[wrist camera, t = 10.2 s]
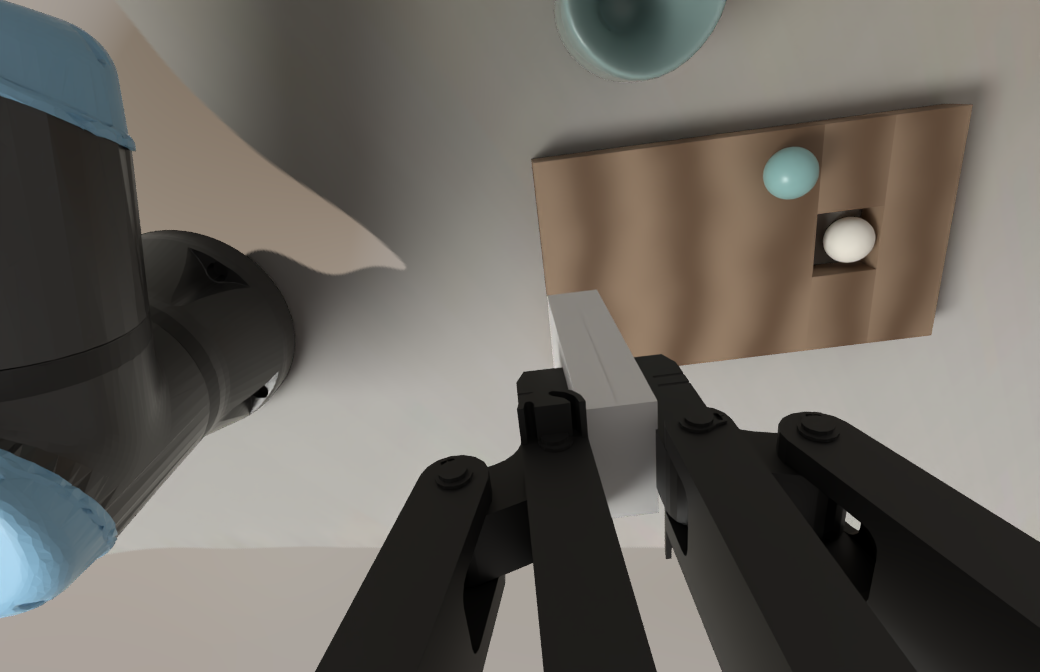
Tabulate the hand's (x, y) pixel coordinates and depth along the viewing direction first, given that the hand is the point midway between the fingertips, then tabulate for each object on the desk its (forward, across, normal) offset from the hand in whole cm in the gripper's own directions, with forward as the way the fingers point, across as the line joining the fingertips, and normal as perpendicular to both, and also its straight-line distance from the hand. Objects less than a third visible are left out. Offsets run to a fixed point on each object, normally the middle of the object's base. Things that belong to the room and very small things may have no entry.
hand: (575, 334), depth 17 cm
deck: (+24, +15, -5) cm, 29 cm away
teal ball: (+20, +16, 0) cm, 26 cm away
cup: (+25, +6, +10) cm, 28 cm away
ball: (+22, +22, -5) cm, 32 cm away
